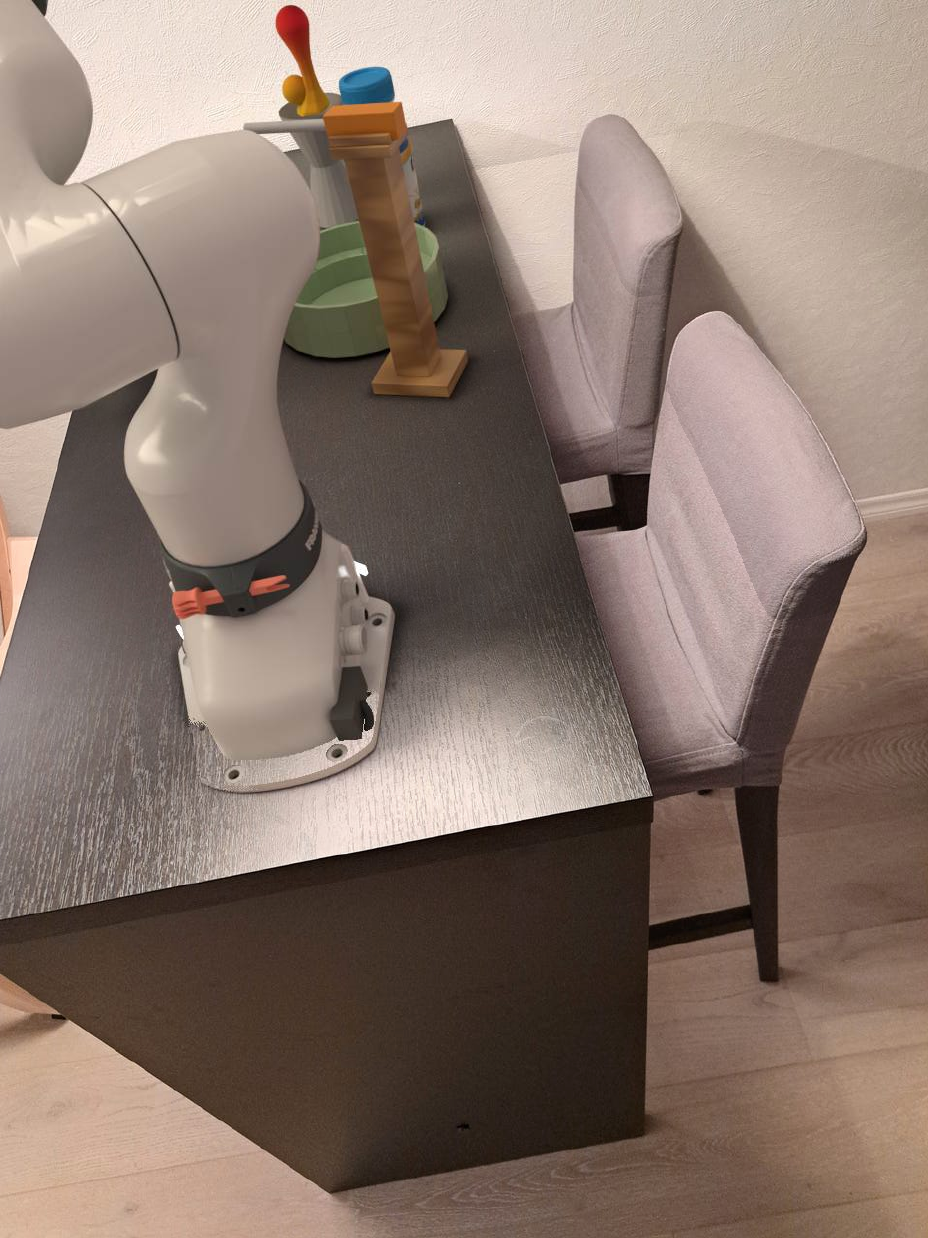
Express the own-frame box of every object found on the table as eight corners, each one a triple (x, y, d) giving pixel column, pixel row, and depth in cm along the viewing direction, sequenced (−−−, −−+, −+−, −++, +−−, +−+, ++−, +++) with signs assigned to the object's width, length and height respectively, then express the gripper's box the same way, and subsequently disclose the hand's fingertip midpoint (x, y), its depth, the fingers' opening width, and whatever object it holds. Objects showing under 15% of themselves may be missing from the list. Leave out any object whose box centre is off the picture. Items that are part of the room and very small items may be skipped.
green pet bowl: (458, 338, 110) (448, 283, 105) (281, 377, 111) (263, 323, 106) (438, 257, 125) (428, 205, 120) (281, 291, 125) (265, 240, 120)
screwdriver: (407, 128, 87) (402, 101, 85) (398, 139, 85) (392, 111, 83) (255, 136, 92) (247, 110, 90) (244, 147, 90) (236, 120, 88)
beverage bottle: (356, 234, 133) (318, 81, 119) (405, 211, 136) (373, 58, 121) (389, 251, 128) (353, 93, 114) (438, 227, 131) (410, 69, 116)
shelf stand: (468, 361, 107) (423, 109, 87) (449, 397, 102) (398, 141, 83) (395, 358, 109) (336, 114, 90) (373, 394, 105) (307, 145, 86)
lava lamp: (369, 195, 142) (304, -88, 116) (367, 221, 136) (298, -71, 110) (311, 205, 143) (233, -73, 117) (306, 232, 136) (223, -56, 111)
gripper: (49, 286, 98) (115, 219, 89) (147, 197, 111) (214, 130, 102) (97, 334, 101) (166, 273, 92) (187, 241, 114) (256, 180, 105)
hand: (192, 197), depth 97 cm, fingers open, 8 cm apart
